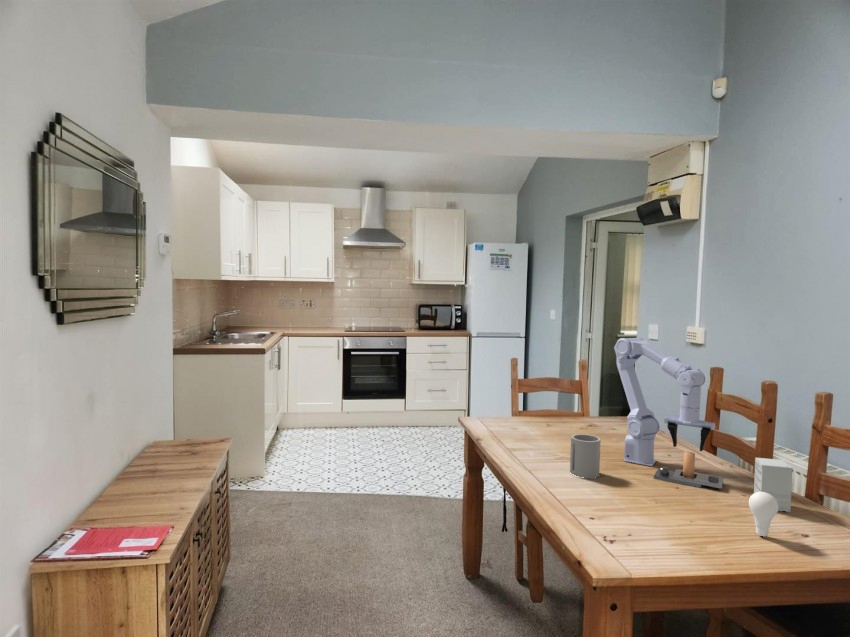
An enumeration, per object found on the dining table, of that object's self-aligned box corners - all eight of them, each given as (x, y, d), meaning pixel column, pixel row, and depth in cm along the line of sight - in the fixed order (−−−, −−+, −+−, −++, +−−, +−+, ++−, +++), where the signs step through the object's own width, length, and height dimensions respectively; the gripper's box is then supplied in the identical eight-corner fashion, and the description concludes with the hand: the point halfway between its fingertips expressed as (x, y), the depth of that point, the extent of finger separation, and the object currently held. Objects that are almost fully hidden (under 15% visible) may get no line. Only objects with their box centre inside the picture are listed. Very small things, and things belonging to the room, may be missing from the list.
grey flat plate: (653, 478, 168) (654, 469, 168) (658, 471, 174) (658, 463, 174) (721, 491, 157) (721, 482, 157) (723, 483, 164) (723, 475, 164)
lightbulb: (741, 531, 131) (743, 488, 130) (764, 530, 131) (766, 487, 131) (758, 542, 125) (761, 497, 124) (782, 542, 125) (785, 497, 125)
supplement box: (782, 503, 149) (784, 459, 149) (791, 513, 142) (793, 467, 142) (752, 499, 152) (754, 456, 151) (759, 509, 145) (761, 464, 144)
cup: (603, 474, 171) (605, 438, 171) (591, 481, 164) (592, 443, 164) (578, 467, 177) (579, 432, 177) (565, 473, 171) (566, 437, 170)
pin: (681, 481, 166) (682, 453, 165) (683, 478, 168) (684, 451, 168) (692, 483, 164) (694, 455, 163) (694, 480, 166) (695, 453, 166)
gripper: (663, 405, 169) (661, 447, 170) (714, 412, 161) (712, 455, 162) (667, 402, 175) (665, 442, 176) (716, 408, 167) (714, 450, 168)
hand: (687, 448), depth 169 cm, fingers open, 7 cm apart
